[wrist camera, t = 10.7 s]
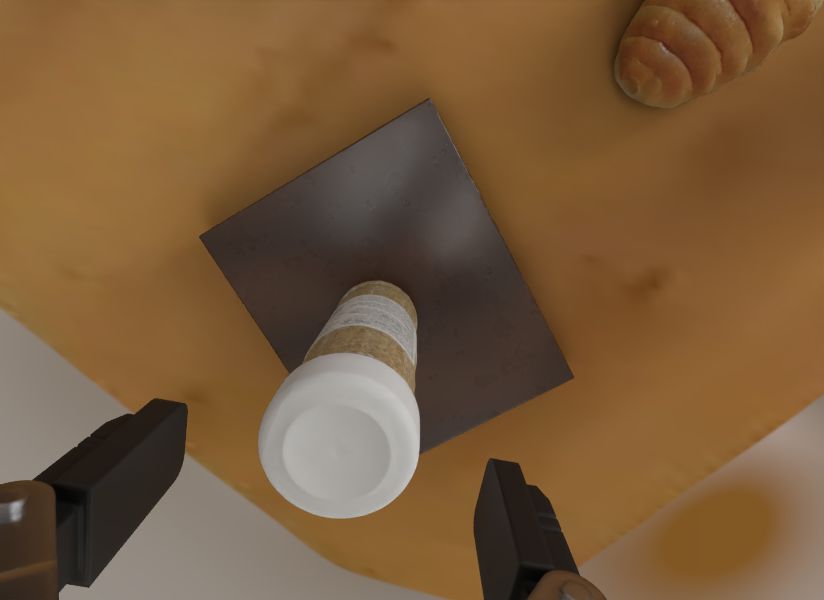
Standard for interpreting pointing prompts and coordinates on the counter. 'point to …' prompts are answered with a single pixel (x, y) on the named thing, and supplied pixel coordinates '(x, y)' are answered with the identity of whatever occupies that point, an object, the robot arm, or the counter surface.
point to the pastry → (702, 44)
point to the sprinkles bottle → (348, 410)
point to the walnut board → (397, 270)
